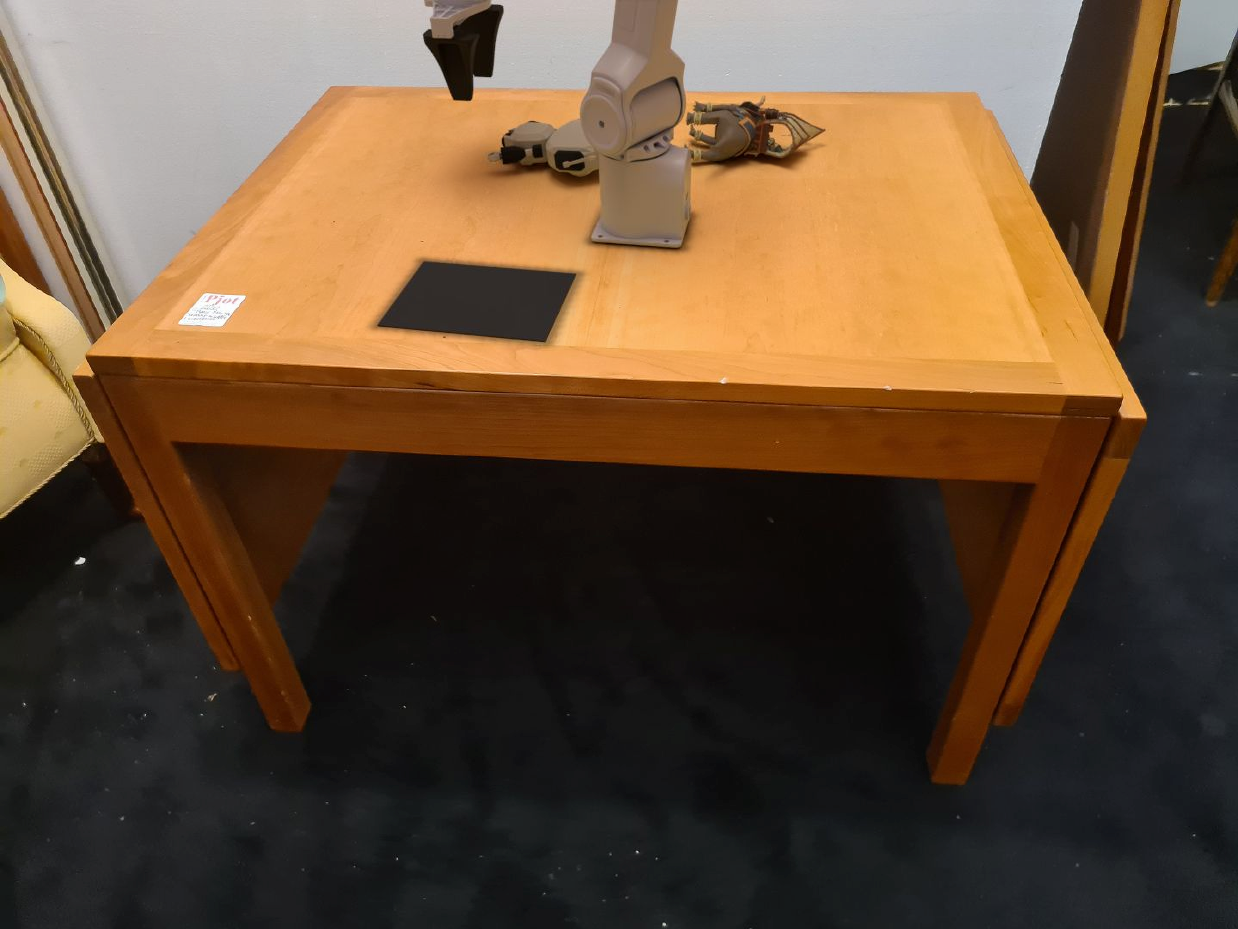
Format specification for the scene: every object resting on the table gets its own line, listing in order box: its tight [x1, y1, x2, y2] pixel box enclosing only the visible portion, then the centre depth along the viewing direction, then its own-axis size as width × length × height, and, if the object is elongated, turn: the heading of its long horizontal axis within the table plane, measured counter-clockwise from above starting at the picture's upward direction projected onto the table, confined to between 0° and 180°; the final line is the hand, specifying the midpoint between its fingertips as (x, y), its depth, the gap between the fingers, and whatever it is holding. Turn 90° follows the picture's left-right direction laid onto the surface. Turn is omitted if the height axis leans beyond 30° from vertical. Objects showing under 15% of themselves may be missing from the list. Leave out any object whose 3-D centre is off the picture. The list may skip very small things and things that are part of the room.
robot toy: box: [487, 118, 599, 178], centre depth 105 cm, size 12×4×15 cm
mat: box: [377, 260, 577, 343], centre depth 83 cm, size 16×12×1 cm
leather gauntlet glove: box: [683, 95, 826, 163], centre depth 105 cm, size 20×6×17 cm
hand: (473, 87), depth 98 cm, fingers open, 7 cm apart
